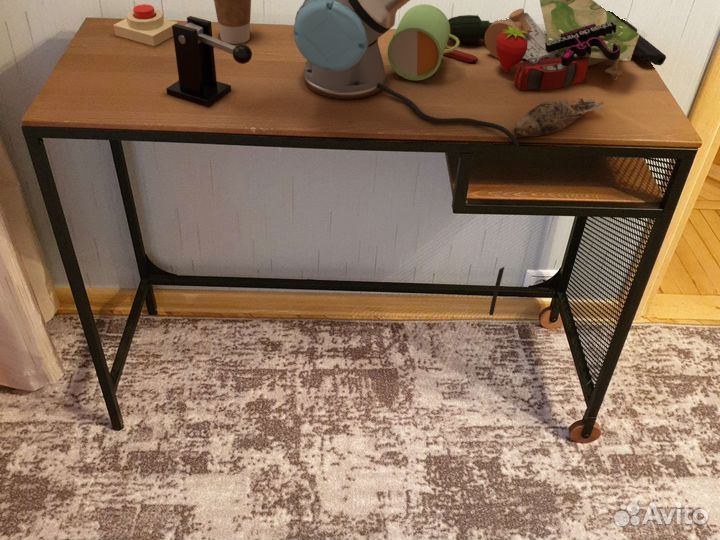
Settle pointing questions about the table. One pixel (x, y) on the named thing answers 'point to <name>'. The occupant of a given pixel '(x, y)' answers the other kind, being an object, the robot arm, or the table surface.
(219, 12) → the coffee cup
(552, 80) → the toy car
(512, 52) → the strawberry
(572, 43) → the logo
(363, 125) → the table surface
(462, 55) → the utility knife
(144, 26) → the button housing
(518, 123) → the bird model
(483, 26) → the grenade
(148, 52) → the table surface
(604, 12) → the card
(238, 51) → the press lever
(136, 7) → the stop button
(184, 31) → the lever bracket
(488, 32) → the door knob
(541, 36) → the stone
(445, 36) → the mug
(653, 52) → the handgun
